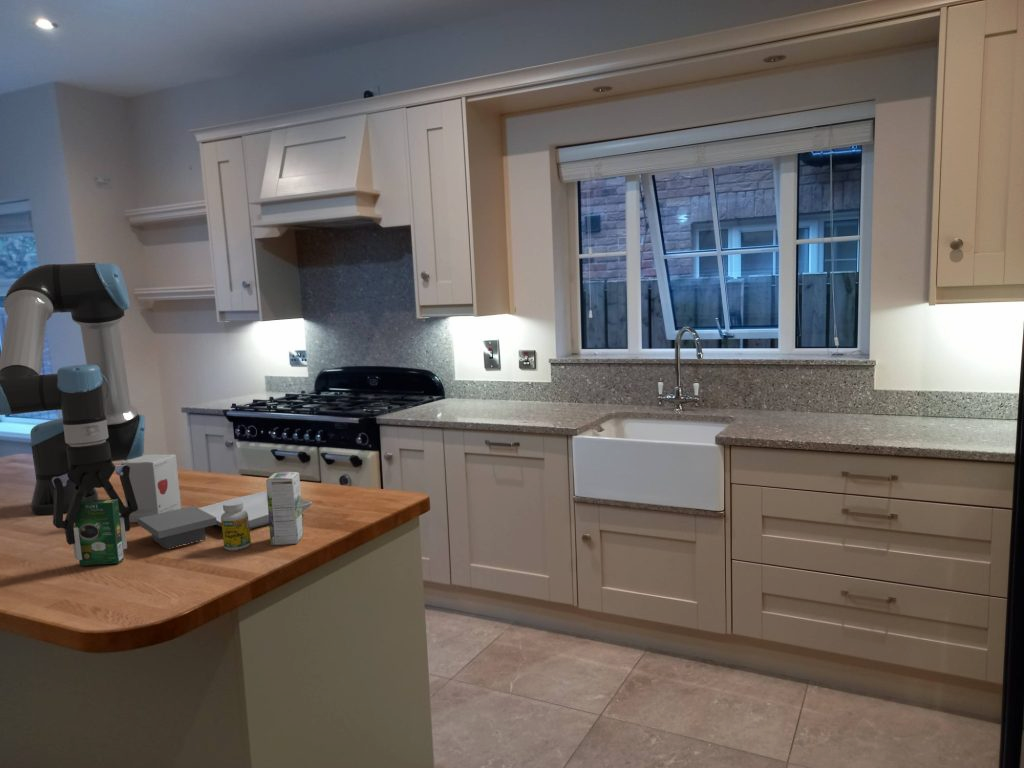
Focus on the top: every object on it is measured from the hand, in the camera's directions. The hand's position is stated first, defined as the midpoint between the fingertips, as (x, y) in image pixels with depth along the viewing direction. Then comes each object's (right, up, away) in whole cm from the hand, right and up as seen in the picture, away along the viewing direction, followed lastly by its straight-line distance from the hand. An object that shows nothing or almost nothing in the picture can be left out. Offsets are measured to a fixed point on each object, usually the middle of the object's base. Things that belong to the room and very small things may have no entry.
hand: (101, 552), depth 149 cm
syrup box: (+35, 0, +9) cm, 36 cm away
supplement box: (-4, +1, +31) cm, 32 cm away
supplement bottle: (+25, 0, +7) cm, 26 cm away
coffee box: (0, -2, 0) cm, 2 cm away
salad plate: (+21, +2, +27) cm, 35 cm away
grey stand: (+10, 0, +13) cm, 16 cm away
